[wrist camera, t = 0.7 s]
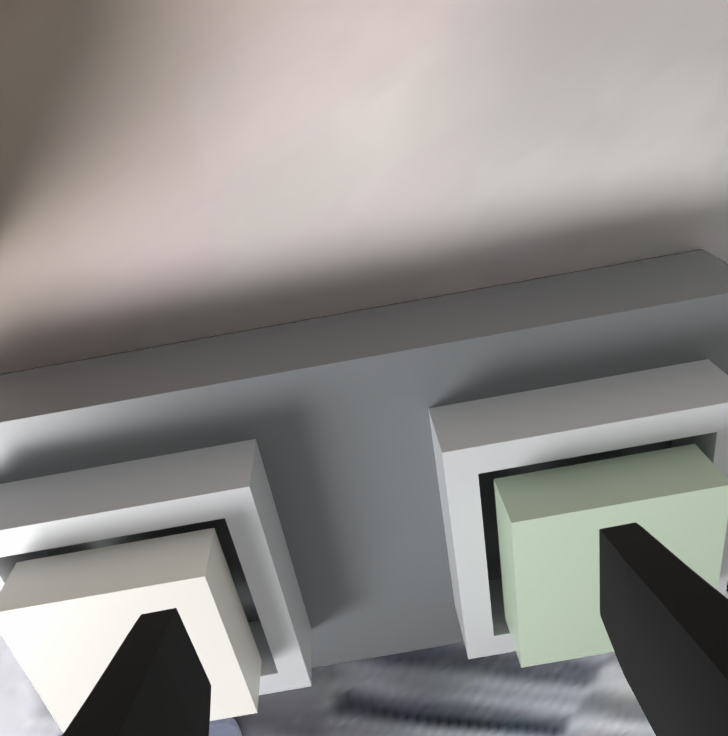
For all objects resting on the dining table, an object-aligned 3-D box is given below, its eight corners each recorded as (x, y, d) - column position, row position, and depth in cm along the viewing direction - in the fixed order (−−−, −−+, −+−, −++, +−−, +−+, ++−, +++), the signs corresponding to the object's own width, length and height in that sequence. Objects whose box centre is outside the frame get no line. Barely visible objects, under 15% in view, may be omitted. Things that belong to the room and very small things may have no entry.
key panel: (676, 534, 24) (759, 649, 19) (91, 635, 24) (41, 772, 20) (702, 249, 19) (823, 318, 14) (-44, 382, 19) (-152, 490, 14)
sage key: (680, 588, 18) (711, 635, 17) (504, 618, 18) (521, 667, 17) (694, 443, 16) (732, 484, 14) (493, 479, 16) (511, 523, 14)
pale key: (261, 660, 18) (257, 712, 17) (88, 689, 18) (70, 745, 17) (213, 527, 16) (204, 576, 15) (16, 562, 16) (-12, 613, 15)
